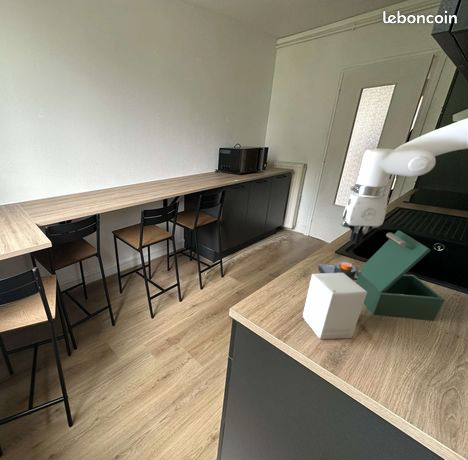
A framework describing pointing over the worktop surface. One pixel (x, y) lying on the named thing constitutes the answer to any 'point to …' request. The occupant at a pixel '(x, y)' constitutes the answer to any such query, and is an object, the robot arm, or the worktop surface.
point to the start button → (346, 266)
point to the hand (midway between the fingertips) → (355, 242)
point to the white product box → (333, 305)
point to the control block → (338, 270)
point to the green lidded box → (402, 299)
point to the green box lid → (393, 260)
